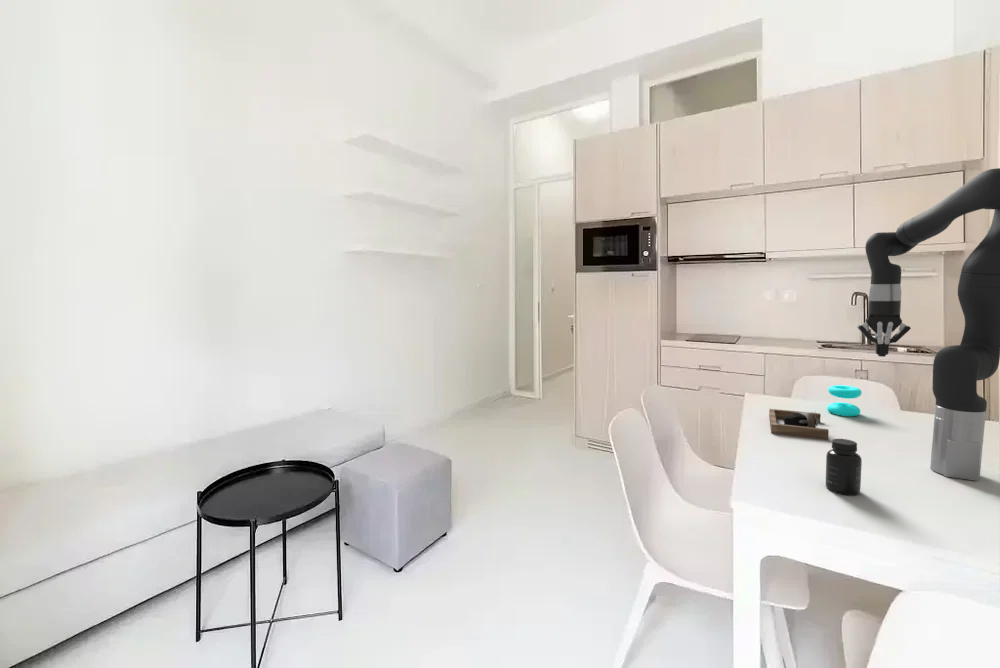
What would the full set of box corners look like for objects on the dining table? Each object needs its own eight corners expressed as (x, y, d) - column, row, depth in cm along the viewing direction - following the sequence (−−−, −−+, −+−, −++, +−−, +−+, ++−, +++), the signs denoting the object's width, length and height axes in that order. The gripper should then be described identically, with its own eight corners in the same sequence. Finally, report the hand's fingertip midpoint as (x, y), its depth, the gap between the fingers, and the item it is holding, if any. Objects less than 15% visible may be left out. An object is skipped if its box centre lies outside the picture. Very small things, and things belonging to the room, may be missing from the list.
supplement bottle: (845, 483, 116) (848, 436, 115) (867, 495, 109) (870, 446, 108) (818, 484, 116) (820, 437, 115) (838, 496, 109) (841, 447, 108)
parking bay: (828, 439, 147) (828, 430, 147) (771, 433, 154) (771, 424, 154) (819, 421, 166) (820, 413, 165) (769, 416, 173) (769, 408, 173)
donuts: (857, 391, 167) (824, 387, 174) (855, 419, 168) (823, 413, 176) (865, 387, 173) (833, 383, 181) (863, 413, 174) (831, 408, 182)
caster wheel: (785, 430, 165) (819, 430, 160) (783, 432, 156) (820, 432, 150) (783, 411, 166) (817, 410, 161) (781, 412, 157) (817, 411, 151)
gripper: (859, 300, 141) (857, 356, 143) (917, 299, 135) (913, 359, 137) (855, 299, 148) (852, 353, 149) (909, 298, 142) (906, 355, 143)
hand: (881, 356), depth 143 cm, fingers closed
